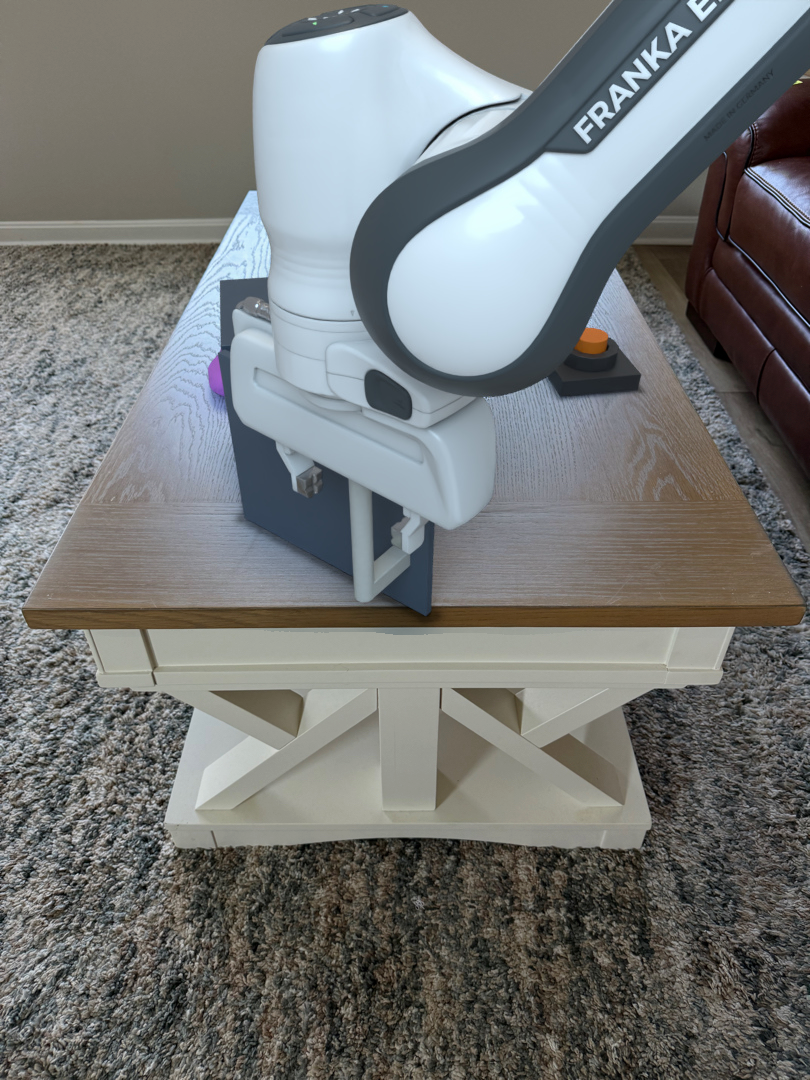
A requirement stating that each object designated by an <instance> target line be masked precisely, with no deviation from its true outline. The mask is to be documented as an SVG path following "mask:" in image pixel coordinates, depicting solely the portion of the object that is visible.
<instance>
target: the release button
mask: <svg viewBox="0 0 810 1080" xmlns="http://www.w3.org/2000/svg"><path fill="white" fill-rule="evenodd" d="M608 337H609V334H608V333H607V332H606V331H605V330H603V329H600V328H596V327H586V328H585V330H584V332H583V334H582V336H581V338H580V339H579V341H578V343H577V344H576V346H575V348H574V349H576V350H578V351H580V352H582V353H588V354H600V353H603V352H605V351H606V347H607V342H608Z"/></svg>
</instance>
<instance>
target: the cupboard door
mask: <svg viewBox="0 0 810 1080" xmlns="http://www.w3.org/2000/svg"><path fill="white" fill-rule="evenodd" d="M217 355H218V359H219V365H220V371H221V377H222V383H223V389H224V395H225V396H224V401H225V407H226V413H227V414H226V415H227V419H228V425H229V432H230V437H231V445H232V450H233V455H234V456H233V457H234V462H235V469H236V474H237V475H236V476H237V480H238V487H239V493H240V498H241V504H242V505H241V506H242V511H243V517H244V518H245V519H246V520H248V521H249V522H252V523H254V524H256V525H257V526H259V527H261V528H263V529H265V530H266V531H268V532H270V533H271V534H274V535H276V536H277V537H279V538H280V539H283V540H285V541H287V542H288V543H290V544H292V545H294V546H296V547H297V548H300V549H301V550H303V551H305V552H307V553H309V554H311V555H312V556H314V557H316V558H318V559H320V560H321V561H323V562H325V563H327V564H329V565H331V566H333V567H335V568H336V569H338V570H340V571H341V572H344V573H345V574H347V575H349V576H351V577H352V578H353V595H354V596H353V597H354V599H355V600H356V601H358V602H360V603H369V602H371V601H373V600H374V598H375V597H377V596H378V595H379V594H380V593H382V594H384V595H386V596H387V597H390V598H391V599H393V600H395V601H397V602H399V603H401V604H402V605H403V606H406V607H408V608H410V609H411V610H413V611H415V612H417V613H419V614H420V615H423V616H425V617H427V616H428V615H429V614H430V613H431V612H432V603H433V578H434V575H433V574H434V572H433V571H434V551H435V527H436V524H435V523H433V522H431V521H430V520H429V521H428V522H427V523H426V524H425V527H424V541H423V543H422V545H421V546H420V547H419V548H417V549H416V550H415V551H414V552H412V553H411V554H408V553H406V552H404V551H402V550H401V549H399V548H397V547H396V546H394V545H392V543H391V540H392V539H393V538H392V536H391V527H392V526H393V525H395V524H396V523H397V522H401V521H402V519H403V518H404V517H405V516H404V514H403V506H401V505H399V504H397V503H395V502H393V501H391V500H389V499H387V498H385V497H383V496H381V495H379V494H377V493H375V492H374V491H372V490H370V489H368V488H366V487H364V486H362V485H360V484H358V483H356V482H354V481H352V480H350V479H348V478H347V477H345V476H343V475H341V474H339V473H337V472H335V471H333V470H331V469H329V468H327V467H325V466H323V465H321V464H319V463H318V462H316V461H314V460H313V462H314V465H315V466H316V467H318V468H320V469H322V471H323V478H322V480H323V484H324V486H323V489H322V490H321V491H320V492H319V493H317V494H314V496H313V497H312V498H307V497H305V496H303V495H302V494H300V493H298V492H296V491H294V490H293V487H292V478H291V473H290V472H289V470H288V469H287V467H286V465H285V463H284V461H283V460H282V458H281V456H280V454H279V452H278V451H277V449H276V441H275V440H273V439H271V438H269V437H267V436H265V435H263V434H262V433H260V432H258V431H256V430H254V429H252V428H250V427H248V426H246V425H244V424H243V423H242V421H241V420H240V418H239V416H238V415H237V413H236V411H235V409H234V406H233V399H232V389H231V371H230V352H229V351H227V350H222V351H220V350H219V351H218V352H217Z"/></svg>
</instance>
